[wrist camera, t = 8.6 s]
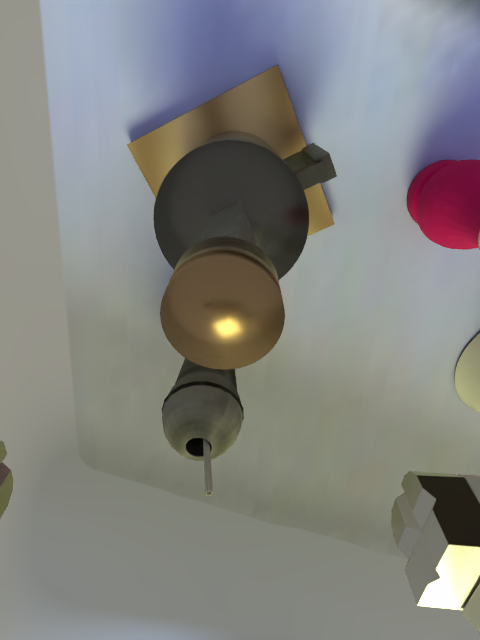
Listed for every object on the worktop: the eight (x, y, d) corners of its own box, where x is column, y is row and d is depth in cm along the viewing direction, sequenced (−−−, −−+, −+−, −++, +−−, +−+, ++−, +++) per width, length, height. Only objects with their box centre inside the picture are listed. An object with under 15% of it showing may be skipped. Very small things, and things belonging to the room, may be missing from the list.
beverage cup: (172, 323, 45) (127, 465, 28) (237, 313, 45) (234, 452, 27) (187, 376, 49) (156, 533, 31) (248, 368, 48) (251, 523, 30)
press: (291, 91, 34) (361, 80, 14) (330, 200, 38) (427, 314, 18) (161, 158, 36) (61, 230, 16) (211, 254, 40) (179, 405, 20)
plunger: (249, 176, 24) (254, 238, 13) (278, 243, 26) (303, 344, 15) (182, 208, 25) (136, 290, 14) (215, 270, 27) (196, 384, 16)
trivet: (276, 66, 34) (277, 64, 33) (331, 220, 40) (334, 224, 39) (130, 143, 37) (126, 144, 35) (202, 276, 43) (201, 281, 41)
